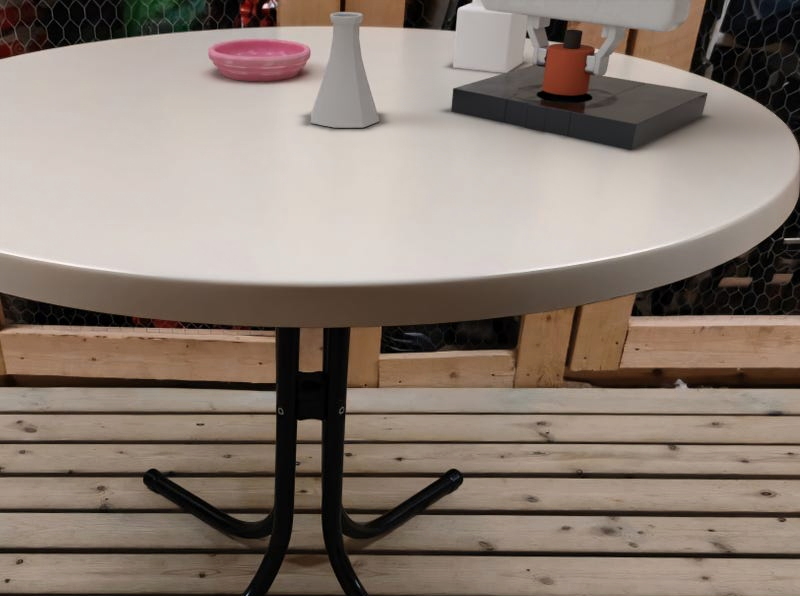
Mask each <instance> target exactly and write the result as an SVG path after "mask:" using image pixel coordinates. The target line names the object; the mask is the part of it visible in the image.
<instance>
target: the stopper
mask: <svg viewBox="0 0 800 596" xmlns="http://www.w3.org/2000/svg"><path fill="white" fill-rule="evenodd" d="M583 34H584V33H583V31H582V30H580V29H565V32H564V40H563V42H562V43H553V44H549V46H548V52H547V59H546V66H545V73H544V80H543V87H542V89H543V90H544V91H545V92H548V93H551V94H557V95H569V96H572V95H582V94H586V93H587V92H588V87H589V81H590V76H591V75H588V74H585V67H586V66H587V64H586V59H587V55H591V54H594V53H596V48H595V47H594V46H591V45H589V44H588V45H587V44H583V43H582V38H583Z"/></svg>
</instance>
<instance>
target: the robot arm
mask: <svg viewBox="0 0 800 596" xmlns="http://www.w3.org/2000/svg"><path fill="white" fill-rule="evenodd" d="M481 2H482V4H483V6H484V8H485V9H486V10H489V11H497V12H505V13H513V14H521V15H528V16H527V24H526V29H527V31H526V32H527V34H528V37H529V39H530V42H531V45H532V48H533V54H532V65H534V66H540V67H545V66H546V59H547V52H548V46H550V43H549V40H548V39H549V38H548V36H547V31H546V27H549V26H550V25H551V19H552V20H553V19H554V20H560V21H569V22H578V23H584V24H592V25H598V26H599V25H600V26H602V27H601V33H600V37H601V39H605V41H603V42H602V43H603V44H602V45H601V46H600V47H599V49H598V51H597V52H594V54H591V55H587V59H586V64H587V66H586V67H585V74H588V75H594V76H606V73H607V71H608V66H609V61H610V56H611V55H613V54H614V52H615V51H616V49H617V48H618V46H619V45H620V44H621V43H622V41H623V40H624V39H625V37H626V33H627V29H631V30H637V31H639V30H640V31H646V32H654V33H655V32H656V33H667V32H671V31H674V30H676V29H678V28H679V27H681V26H682V25H683V24H684V23H685V22H686V20H688V18H689V15H690V11H691V3H692V0H481Z"/></svg>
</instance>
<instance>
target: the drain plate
mask: <svg viewBox="0 0 800 596" xmlns="http://www.w3.org/2000/svg"><path fill="white" fill-rule="evenodd" d="M544 73H545V67H540V66H534V65H533V64H532V65H528V66H525V67H522V68H518V69H515V70H511V71H509V72H507V73H500V74H498V75H494V76H491V77H488V78H484V79H480V80H477V81H474V82H470V83H467V84H463V85H460V86H456V87H453V88H452V96H451V98H452V99H451V107H450V109H451V110H450V112H452V113H456V114H460V115H464V116H465V115H466V116H469V117H474V118H479V119H484V120H489V121H493V122H498V123H502V124H506V125H511V126H517V127H520V128H524V129H529V130H532V131H537V132H542V133H549V134H553V135H558V136H562V137H567V138H572V139H576V140H580V141H585V142H591V143H594V144H599V145H603V146H609V147H613V148H618V149H623V150H627V151H633V150H636V149H638V148H639V147H641V146H644V145H646V144H648V143H650V142H652V141H654V140H656V139H659V138H660V137H663V136H665V135H667V134H668V133H669V134H670V133H671V132H673V131H675V130H677V129H679V128H682V127H683V126H686V125H687V124H690V123H692V122H694V121H696V120H698V119H700V118H703V114H704V110H705V106H706V102H707V98H708V92H704V91H699V90H692V89H686V88H679V87H673V86H668V85H662V84H657V83H656V84H655V83H649V82H642V81H637V80H630V79H625V78H619V77H614V76H613V77H612V76H606V75H602V76H594V75H591V76H590V81H589V87H588V92H587V93H586V94H582V95H572V96H569V95H557V94H551V93H548V92H545V91H544V90H543V89H542V87H543V80H544Z"/></svg>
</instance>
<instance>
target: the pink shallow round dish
mask: <svg viewBox="0 0 800 596" xmlns="http://www.w3.org/2000/svg"><path fill="white" fill-rule="evenodd" d="M207 50H208V51H207V55H208V57H209V58H208V59H210V60H211V62H212V64H213V65H214V66H215V67H216V68H218V69H219V71H220V73H221V75H223V76H224V77H225V78H227V79H228V78H229V79H232V80H235V81H242V82H243V81H244V82H276V81H283V80H287V79H291V78H294V77H296V76H298V75H299V73H300V71H301V69H302V68H304V67H305V66H306V65H307V62H308V61H309V59H310V58H311V48H310V47H309V46H308V45H307V44H304V43H300V42H297V41H293V40H285V39H277V38H276V39H275V38H242V39H233V40H225V41H220V42H217V43H214V44H212V45H211V46H209V47H208V49H207Z"/></svg>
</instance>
